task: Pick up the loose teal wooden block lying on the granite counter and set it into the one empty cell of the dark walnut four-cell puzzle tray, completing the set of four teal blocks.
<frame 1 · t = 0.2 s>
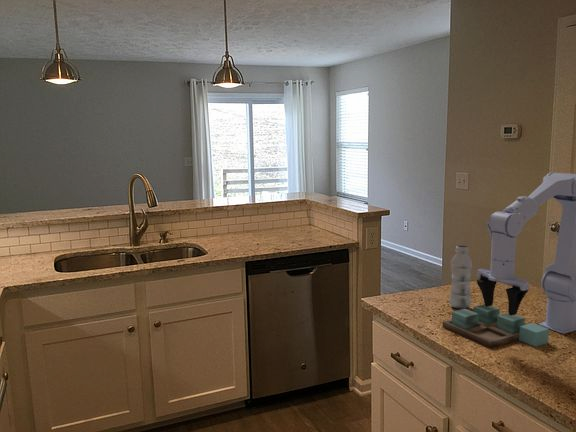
hand: (500, 309, 133), 10 cm above the worktop, tool pointing down, fingers open, 7 cm apart
teal block: (533, 341, 137), on the worktop
puzzle tray: (487, 331, 145), on the worktop
plastic bottle: (459, 308, 164), on the worktop
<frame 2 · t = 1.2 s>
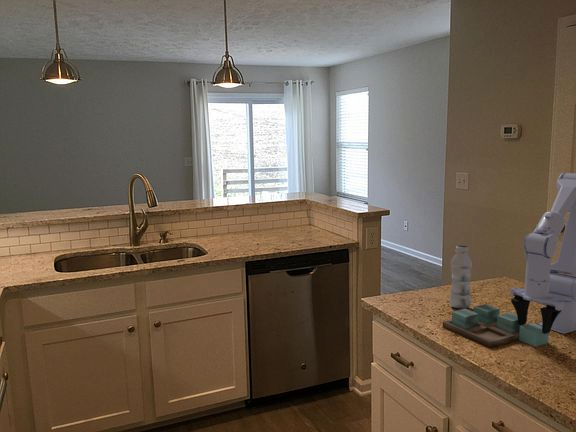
hand: (533, 328, 137), 4 cm above the worktop, tool pointing down, fingers open, 7 cm apart
nothing on the worktop moved.
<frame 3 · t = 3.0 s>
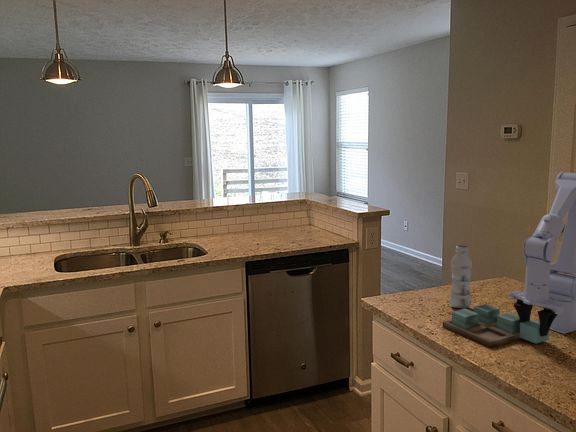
hand: (534, 331, 137), 3 cm above the worktop, tool pointing down, fingers closed on teal block, 5 cm apart
teal block: (534, 338, 137), point 1 cm above the worktop, touching gripper
everything else where it was.
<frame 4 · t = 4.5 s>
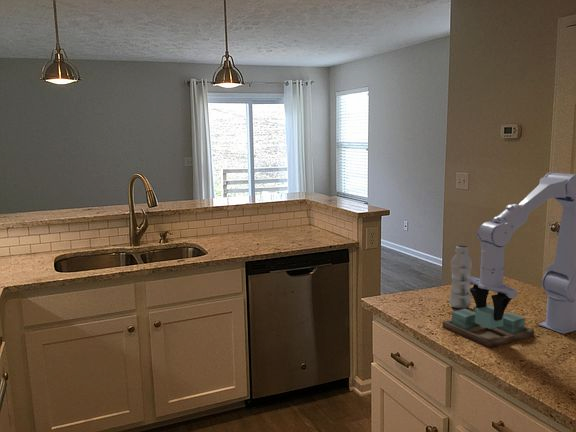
hand: (489, 316, 138), 6 cm above the worktop, tool pointing down, fingers closed on teal block, 5 cm apart
teal block: (488, 324, 138), point 4 cm above the worktop, touching gripper
everything else where it was.
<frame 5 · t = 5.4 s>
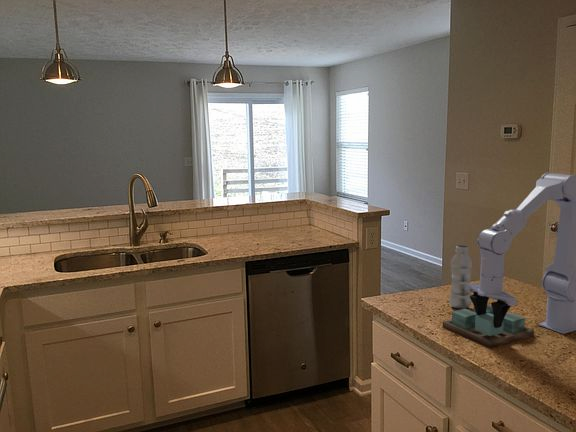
hand: (489, 323, 138), 4 cm above the worktop, tool pointing down, fingers closed on teal block, 5 cm apart
teal block: (488, 331, 139), point 2 cm above the worktop, touching gripper
everything else where it was.
when the fingers open (4 cm above the worktop, at t = 5.7 s): teal block drops 1 cm, resting on puzzle tray.
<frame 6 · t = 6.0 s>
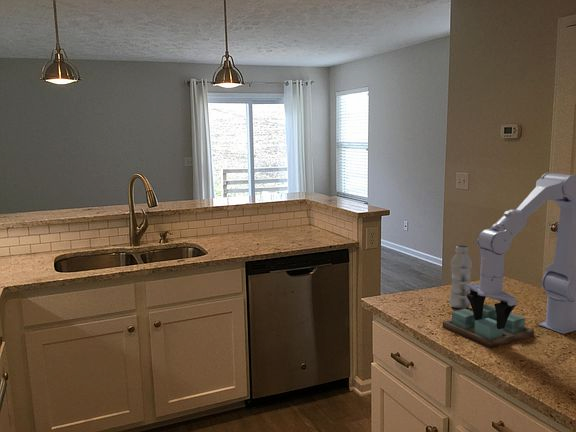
hand: (489, 323, 138), 4 cm above the worktop, tool pointing down, fingers open, 7 cm apart
teal block: (488, 336, 139), point 1 cm above the worktop, touching puzzle tray
everything else where it was.
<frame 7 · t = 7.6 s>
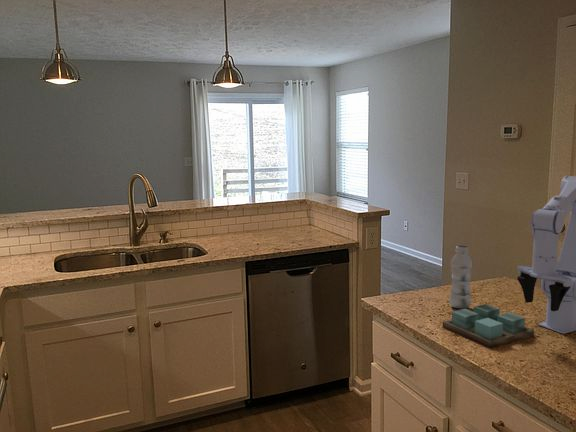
hand: (541, 306, 135), 10 cm above the worktop, tool pointing down, fingers open, 7 cm apart
nothing on the worktop moved.
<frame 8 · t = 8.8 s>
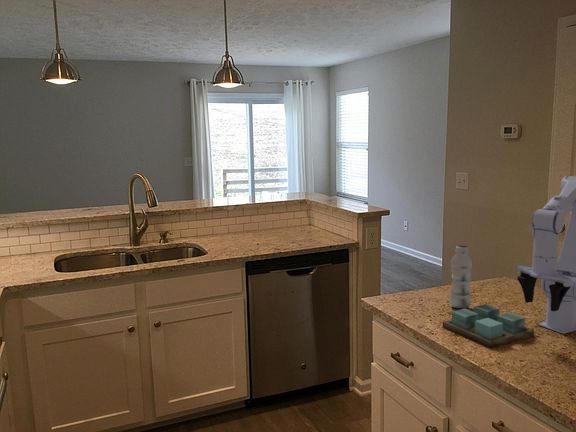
hand: (541, 306, 135), 10 cm above the worktop, tool pointing down, fingers open, 7 cm apart
nothing on the worktop moved.
at the end: teal block 0.1 cm from the target spot on the puzzle tray, point 0.8 cm above the puzzle tray's base; the gripper is holding nothing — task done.
